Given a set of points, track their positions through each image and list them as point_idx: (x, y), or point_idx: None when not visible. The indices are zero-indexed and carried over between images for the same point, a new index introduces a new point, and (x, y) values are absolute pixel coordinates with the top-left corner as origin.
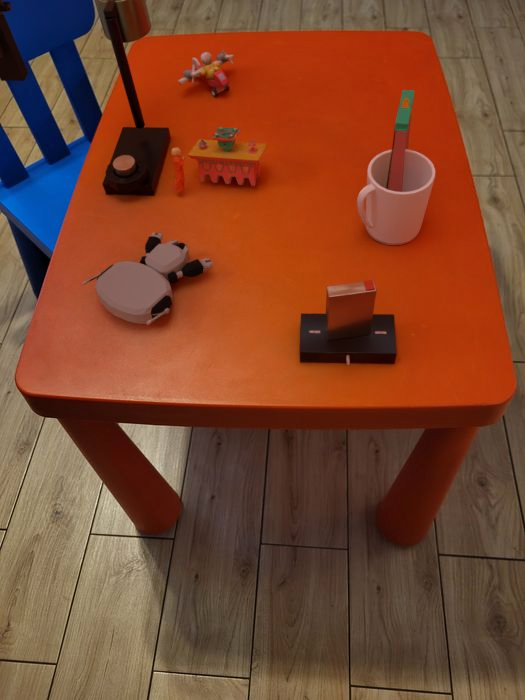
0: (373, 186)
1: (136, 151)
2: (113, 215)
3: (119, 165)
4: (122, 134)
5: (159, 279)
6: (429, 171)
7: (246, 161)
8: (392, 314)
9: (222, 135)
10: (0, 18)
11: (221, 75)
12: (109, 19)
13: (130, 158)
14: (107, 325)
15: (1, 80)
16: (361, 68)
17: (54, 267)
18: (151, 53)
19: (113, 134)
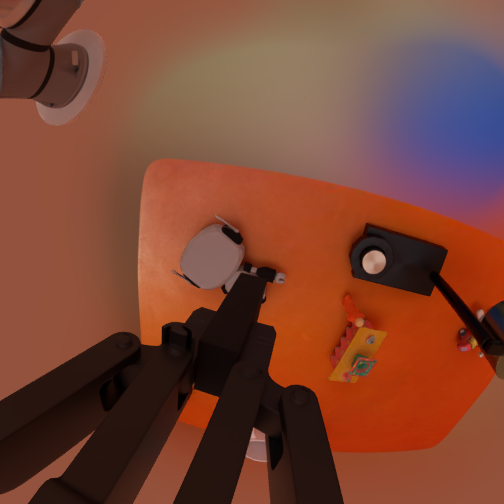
0: (252, 438)
1: (407, 263)
2: (333, 230)
3: (370, 257)
4: (437, 249)
5: (214, 283)
6: (262, 457)
7: (333, 370)
8: (188, 399)
9: (356, 367)
10: (211, 392)
11: (465, 349)
12: (483, 344)
13: (378, 269)
14: (198, 225)
15: (240, 273)
16: (430, 421)
17: (271, 171)
18: None
19: (451, 233)
